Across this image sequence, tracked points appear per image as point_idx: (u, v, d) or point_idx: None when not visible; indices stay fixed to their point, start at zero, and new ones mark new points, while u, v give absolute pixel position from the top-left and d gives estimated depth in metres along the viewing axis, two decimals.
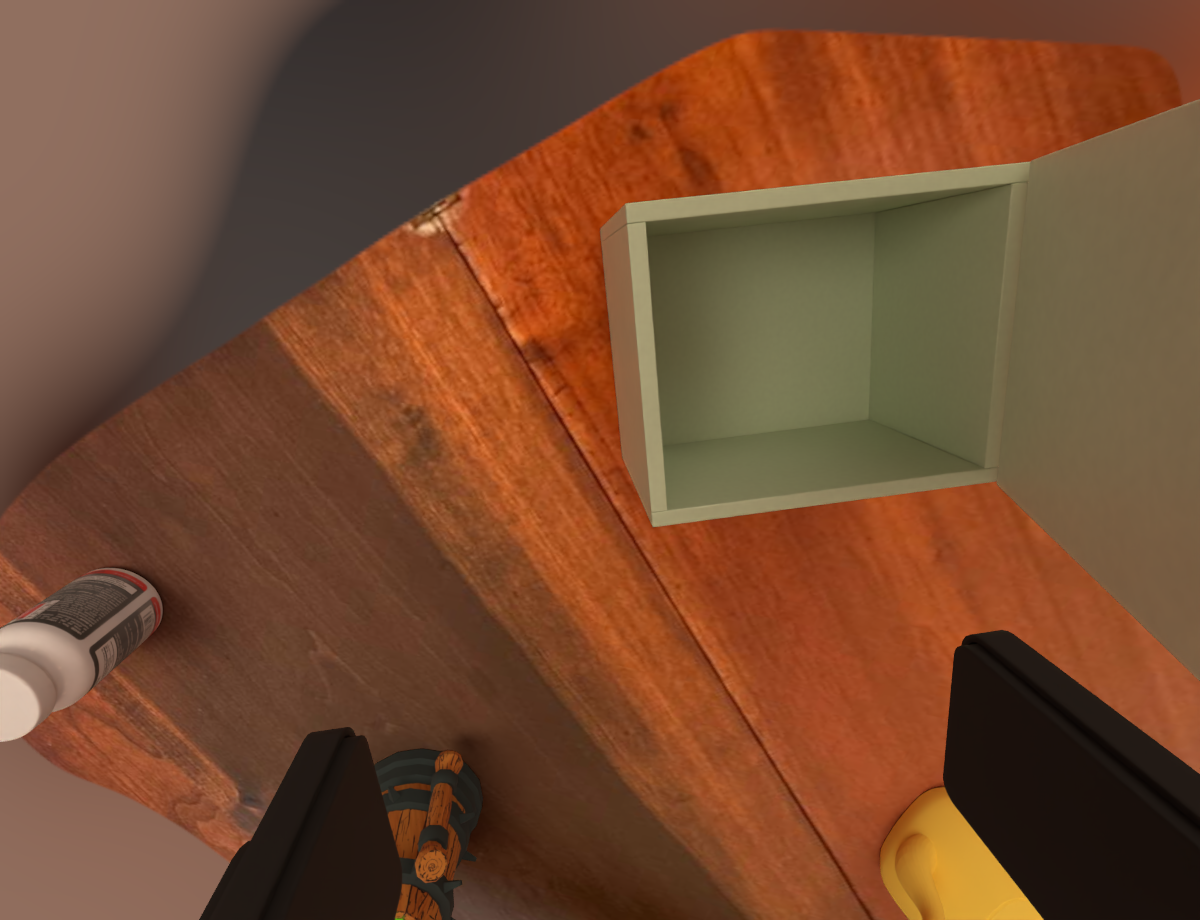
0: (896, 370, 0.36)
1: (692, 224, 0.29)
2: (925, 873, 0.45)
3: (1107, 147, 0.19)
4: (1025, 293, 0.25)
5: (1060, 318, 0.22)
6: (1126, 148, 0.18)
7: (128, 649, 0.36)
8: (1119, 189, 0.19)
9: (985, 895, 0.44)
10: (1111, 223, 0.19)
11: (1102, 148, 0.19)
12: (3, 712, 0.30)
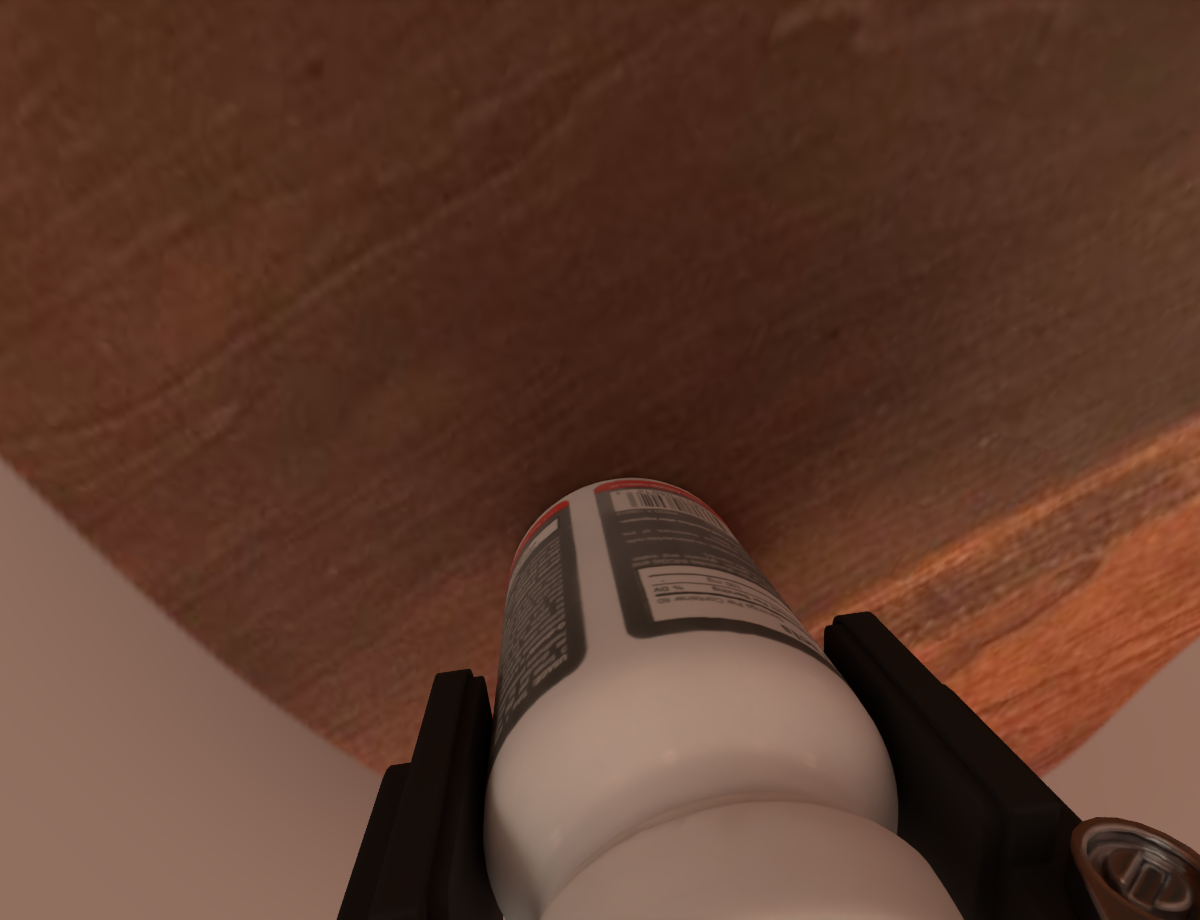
0: None
1: None
2: None
3: None
4: None
5: None
6: None
7: (721, 547, 0.10)
8: None
9: None
10: None
11: None
12: None
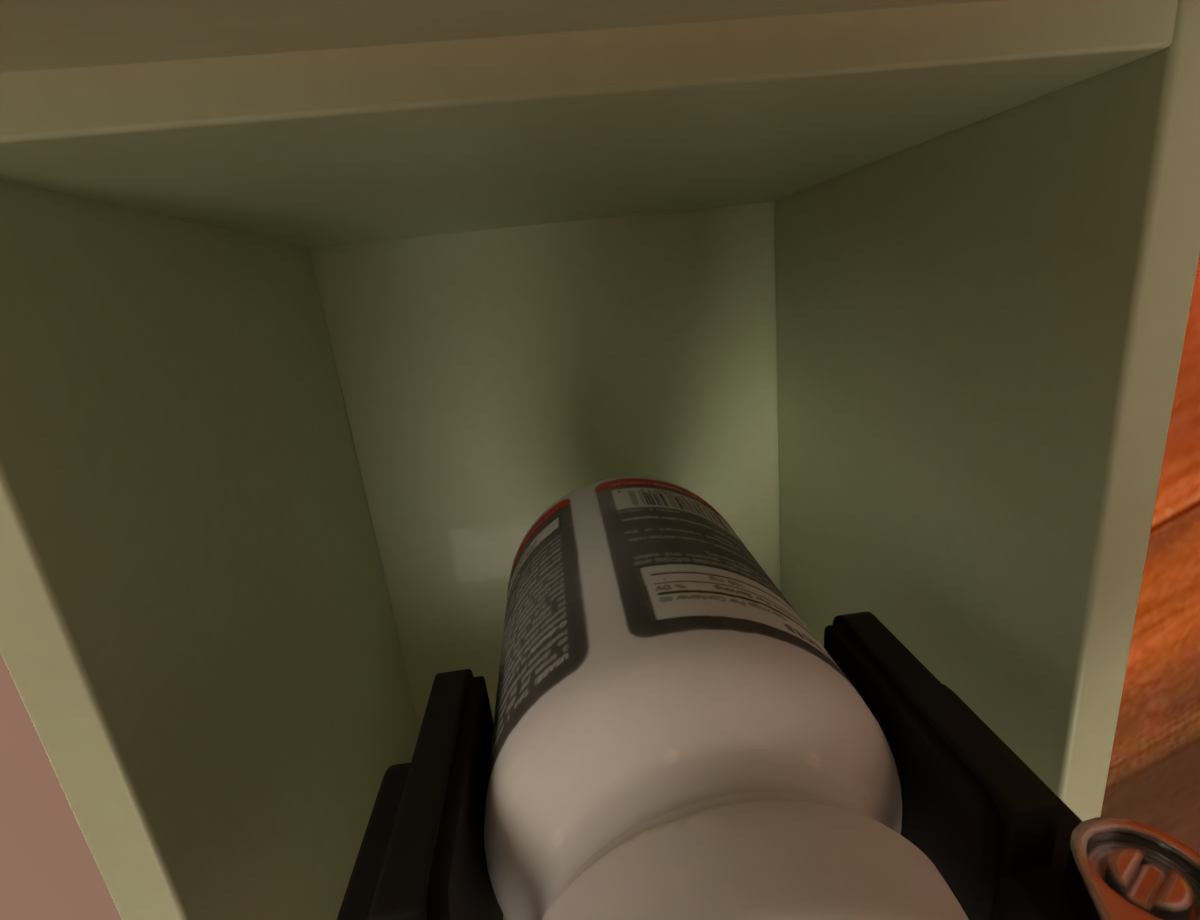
0: (669, 197, 0.14)
1: (342, 831, 0.13)
2: None
3: None
4: (332, 40, 0.04)
5: None
6: None
7: (723, 546, 0.10)
8: None
9: None
10: None
11: None
12: None
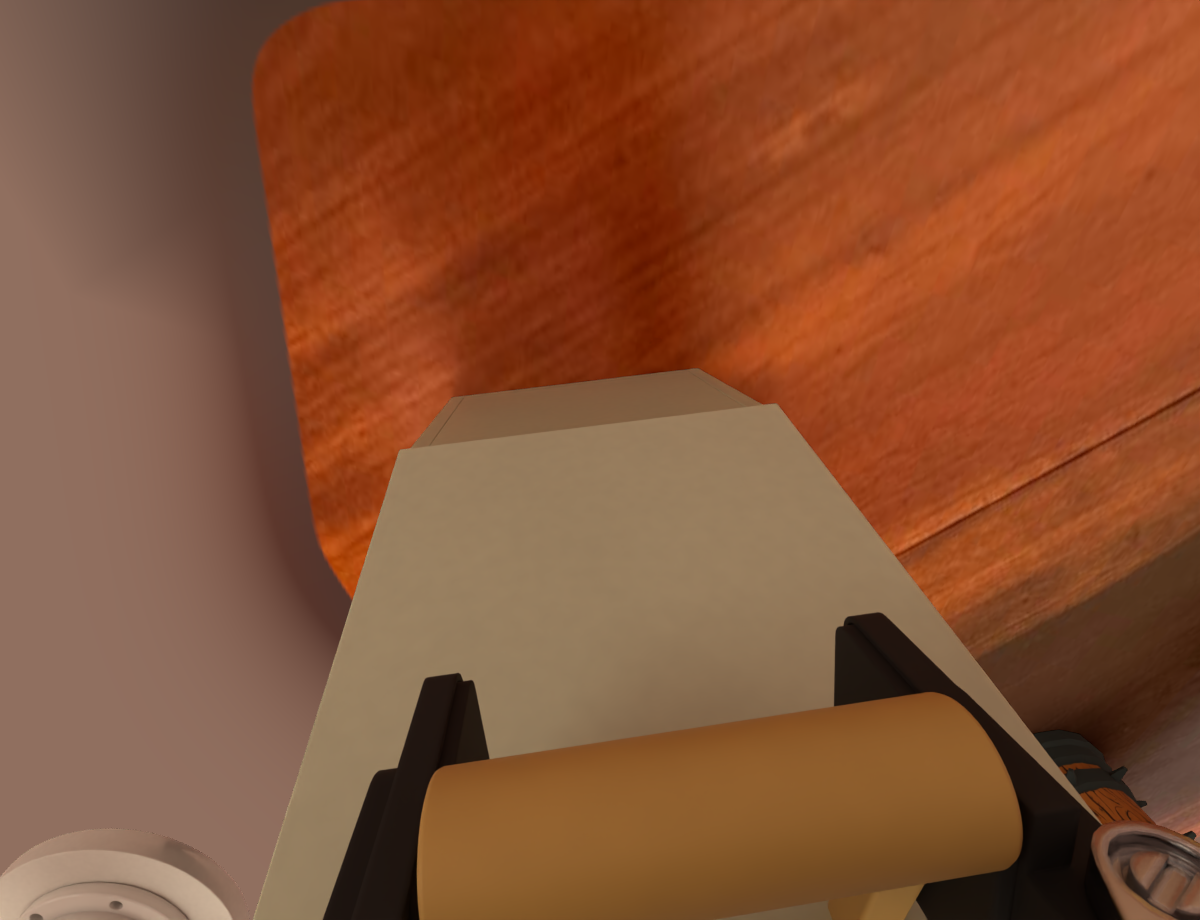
0: None
1: None
2: None
3: None
4: None
5: None
6: None
7: None
8: None
9: None
10: None
11: None
12: None
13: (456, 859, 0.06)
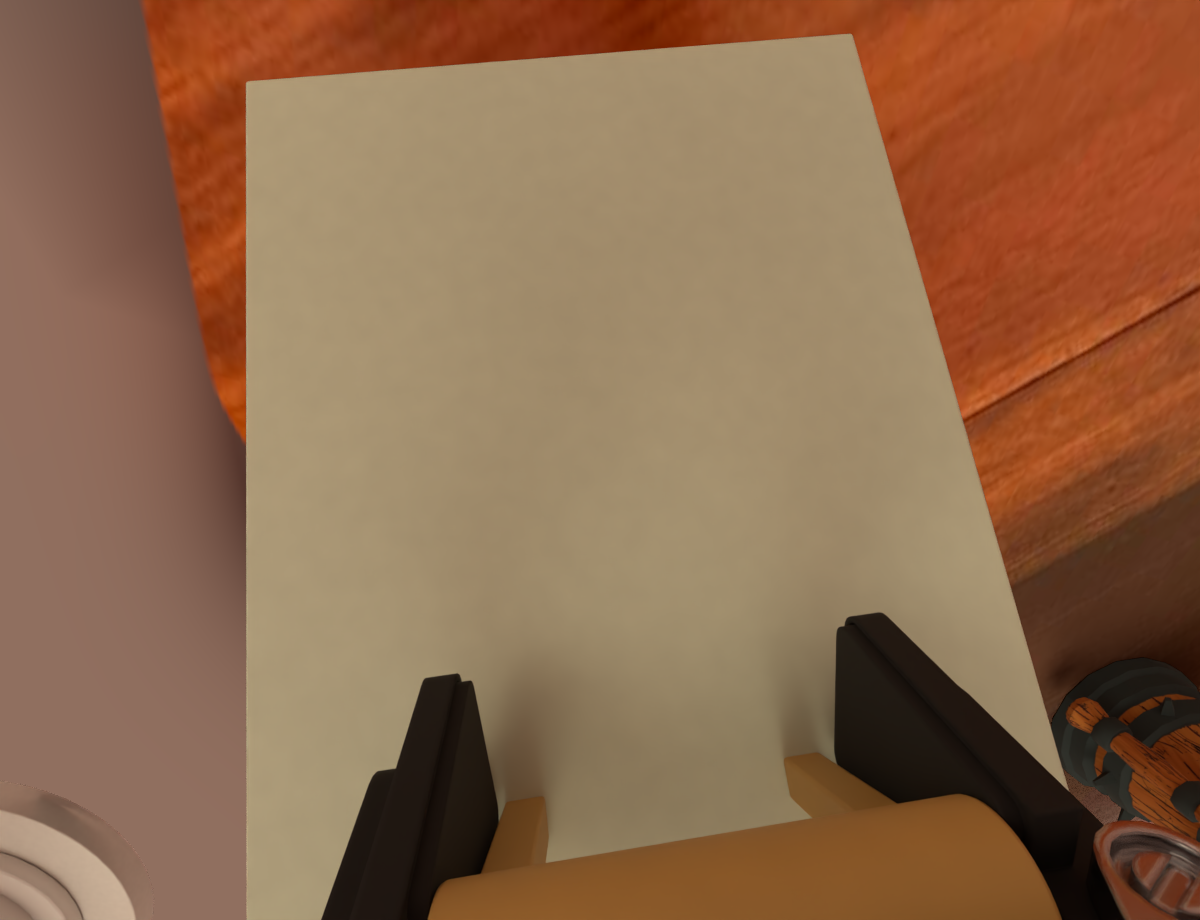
0: None
1: None
2: None
3: None
4: None
5: None
6: None
7: None
8: None
9: None
10: None
11: None
12: None
13: None
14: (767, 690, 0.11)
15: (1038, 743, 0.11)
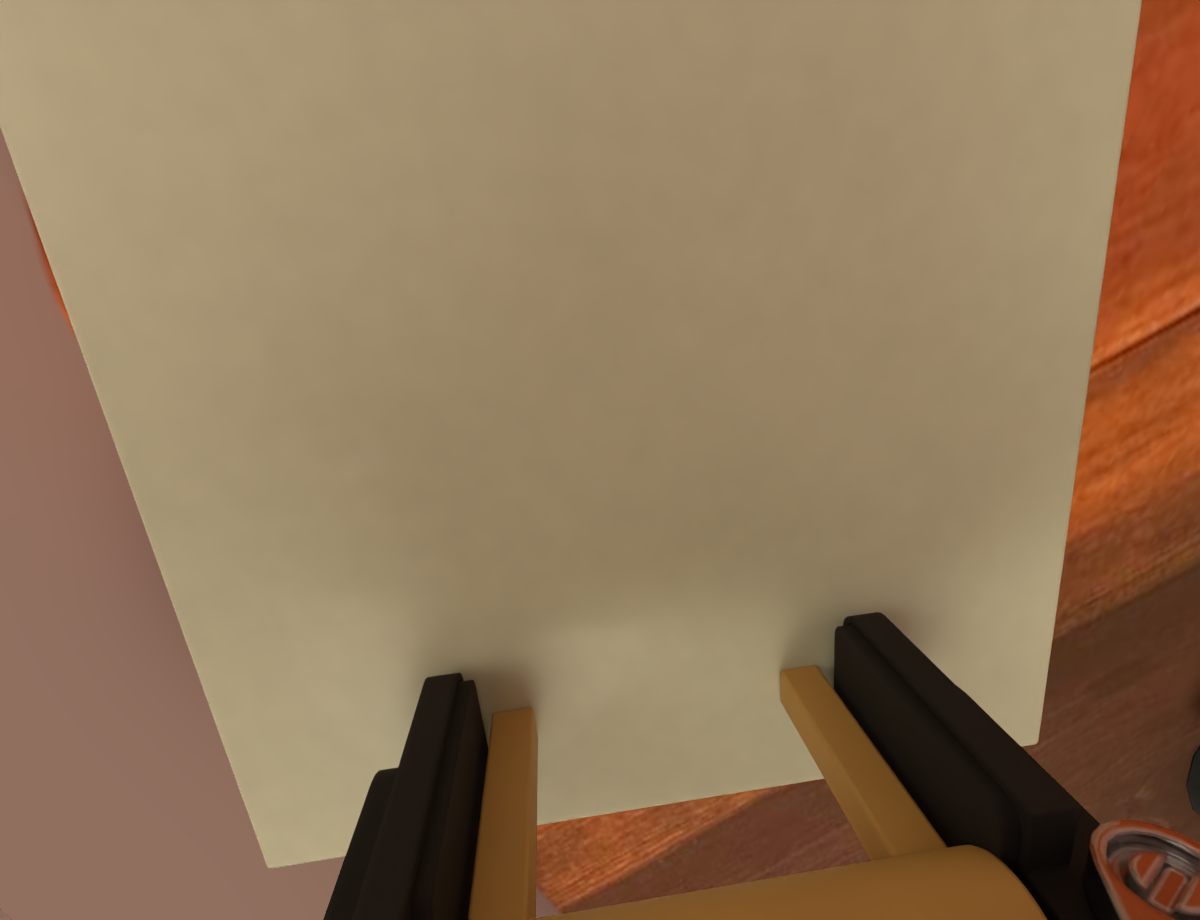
0: None
1: None
2: None
3: None
4: None
5: None
6: None
7: None
8: None
9: None
10: None
11: None
12: None
13: None
14: (775, 611, 0.10)
15: (1035, 651, 0.11)
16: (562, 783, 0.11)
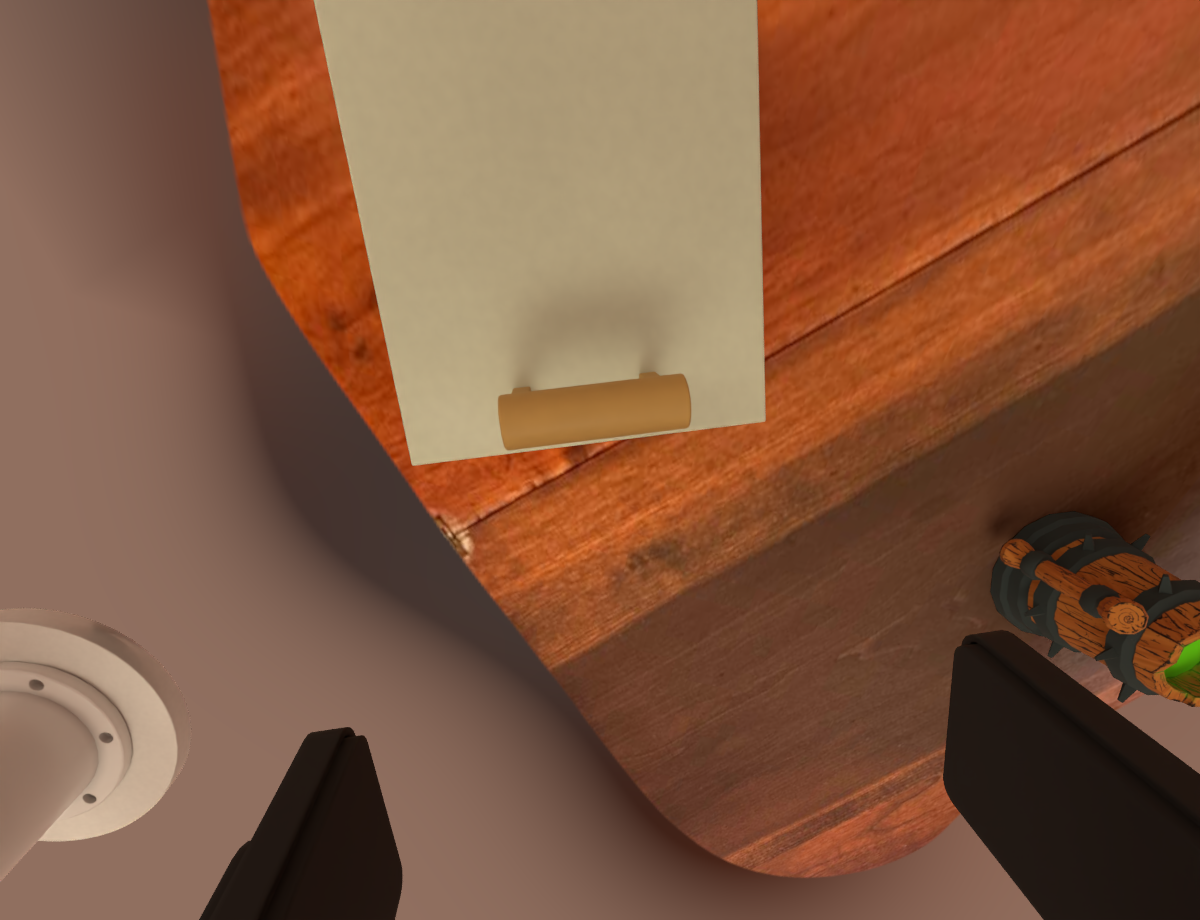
0: None
1: None
2: None
3: None
4: None
5: None
6: None
7: None
8: None
9: None
10: None
11: None
12: None
13: (514, 439, 0.18)
14: (635, 344, 0.23)
15: (756, 370, 0.24)
16: None
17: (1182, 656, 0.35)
